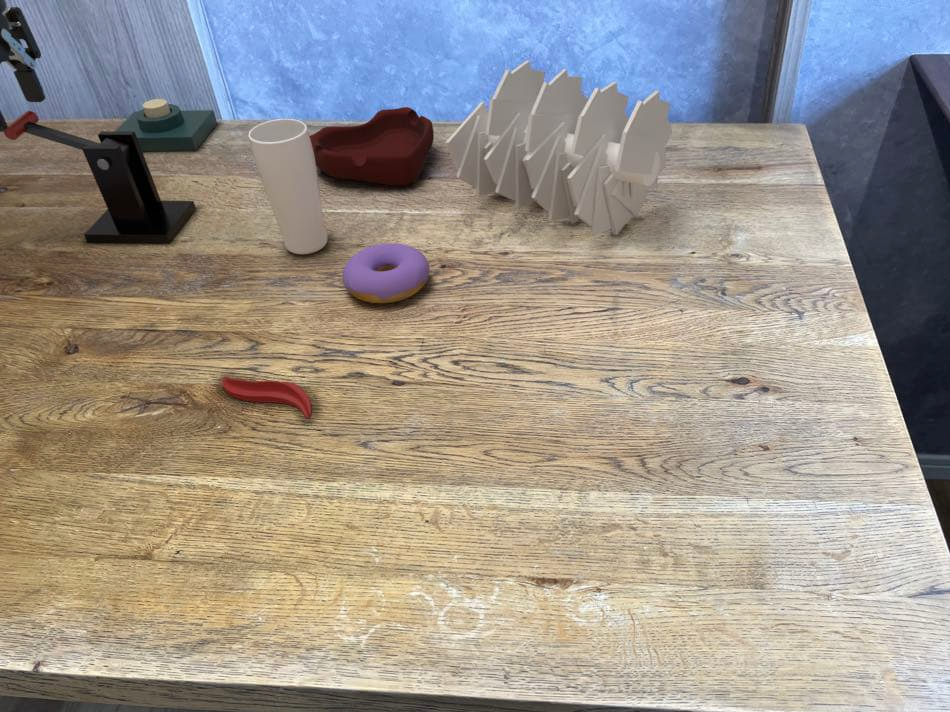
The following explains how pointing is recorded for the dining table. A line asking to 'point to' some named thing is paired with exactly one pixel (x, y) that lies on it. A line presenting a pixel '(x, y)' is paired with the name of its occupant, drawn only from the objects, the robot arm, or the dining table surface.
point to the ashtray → (376, 148)
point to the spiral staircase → (564, 148)
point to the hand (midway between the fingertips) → (18, 115)
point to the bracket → (131, 196)
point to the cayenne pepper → (268, 392)
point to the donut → (386, 273)
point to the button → (156, 108)
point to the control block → (171, 129)
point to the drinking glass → (290, 182)
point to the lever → (55, 134)
